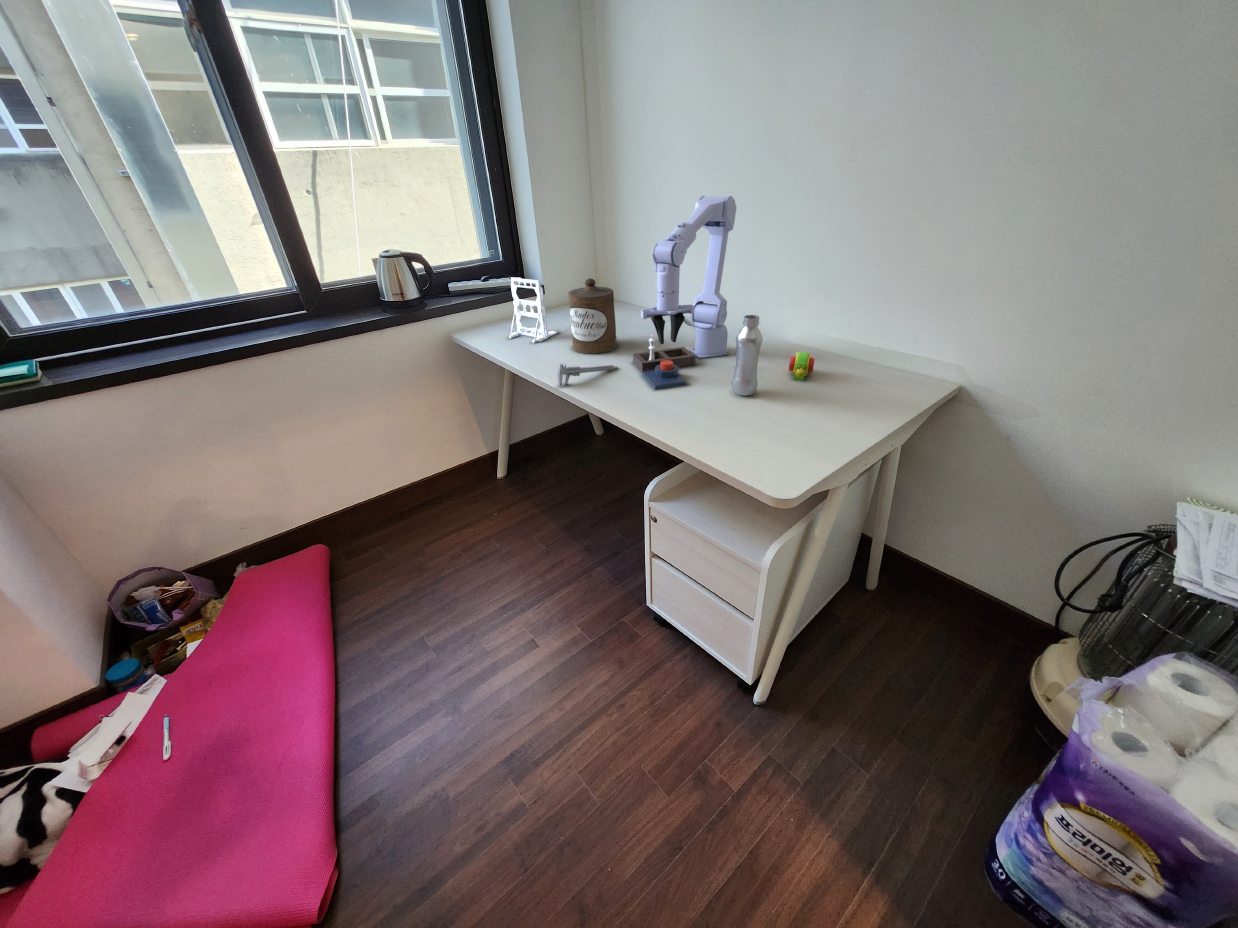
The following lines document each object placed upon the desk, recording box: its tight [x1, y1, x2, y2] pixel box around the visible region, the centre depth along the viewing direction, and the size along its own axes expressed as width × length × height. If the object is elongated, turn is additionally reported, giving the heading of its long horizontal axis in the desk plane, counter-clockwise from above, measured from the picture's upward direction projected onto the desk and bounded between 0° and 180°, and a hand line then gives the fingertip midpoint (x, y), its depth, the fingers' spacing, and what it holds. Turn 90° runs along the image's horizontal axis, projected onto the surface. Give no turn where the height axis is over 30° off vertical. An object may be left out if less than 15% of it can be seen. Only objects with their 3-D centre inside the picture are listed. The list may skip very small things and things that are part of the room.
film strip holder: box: [508, 276, 558, 344], centre depth 171 cm, size 14×14×20 cm
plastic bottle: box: [731, 314, 764, 397], centre depth 121 cm, size 6×7×20 cm
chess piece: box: [648, 332, 656, 360], centre depth 144 cm, size 5×5×10 cm
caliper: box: [556, 363, 618, 387], centre depth 139 cm, size 20×1×6 cm, turn 129°
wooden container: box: [567, 277, 617, 355], centre depth 158 cm, size 15×15×22 cm
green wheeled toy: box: [788, 351, 815, 381], centre depth 137 cm, size 6×19×7 cm, turn 160°
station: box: [641, 364, 687, 390], centre depth 136 cm, size 9×11×3 cm
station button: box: [660, 360, 673, 371], centre depth 136 cm, size 4×4×2 cm
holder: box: [632, 346, 696, 373], centre depth 146 cm, size 17×9×3 cm, turn 106°
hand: (667, 342), depth 132 cm, fingers open, 3 cm apart
